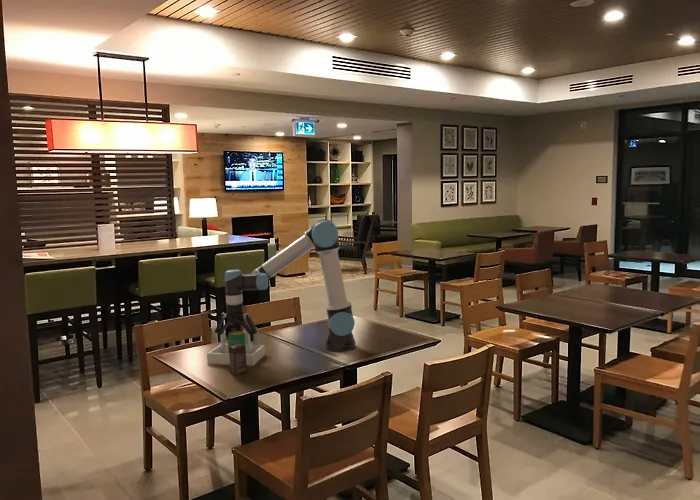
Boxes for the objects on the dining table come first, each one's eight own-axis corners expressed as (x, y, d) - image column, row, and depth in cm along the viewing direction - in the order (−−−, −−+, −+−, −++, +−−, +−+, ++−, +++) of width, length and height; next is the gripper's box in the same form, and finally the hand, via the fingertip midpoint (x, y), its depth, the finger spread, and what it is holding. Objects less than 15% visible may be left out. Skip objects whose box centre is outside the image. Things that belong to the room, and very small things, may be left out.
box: (240, 369, 249) (239, 343, 247) (247, 371, 246) (246, 344, 244) (229, 373, 244) (228, 346, 243) (236, 375, 241) (234, 348, 240)
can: (255, 354, 271) (254, 330, 269) (241, 353, 272) (240, 329, 271) (261, 349, 278) (260, 326, 277) (247, 349, 280) (246, 325, 278)
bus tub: (265, 355, 269) (264, 345, 268) (252, 366, 253) (252, 355, 253) (222, 353, 273) (221, 343, 273) (207, 363, 258) (207, 353, 257)
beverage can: (249, 356, 265) (248, 331, 264) (239, 361, 258) (238, 335, 257) (235, 354, 269) (234, 329, 267) (225, 359, 261) (223, 334, 260)
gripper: (262, 301, 261) (265, 346, 264) (212, 301, 266) (215, 344, 269) (257, 305, 254) (259, 351, 257) (205, 304, 259) (208, 349, 262)
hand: (236, 348), depth 263 cm, fingers open, 13 cm apart
